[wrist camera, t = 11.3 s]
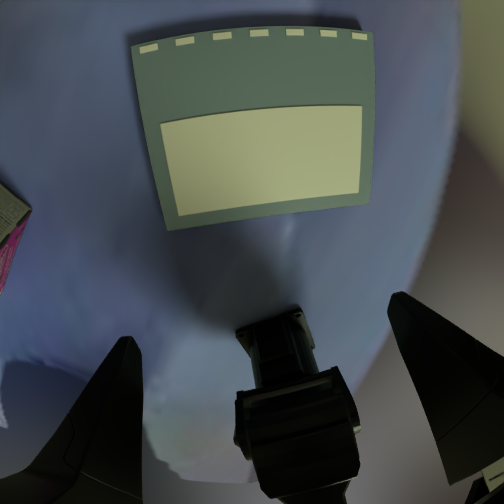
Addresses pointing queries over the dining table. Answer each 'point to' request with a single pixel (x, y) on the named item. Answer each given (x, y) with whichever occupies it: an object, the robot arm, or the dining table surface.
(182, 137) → the ticket
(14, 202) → the candy bar box
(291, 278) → the dining table surface
